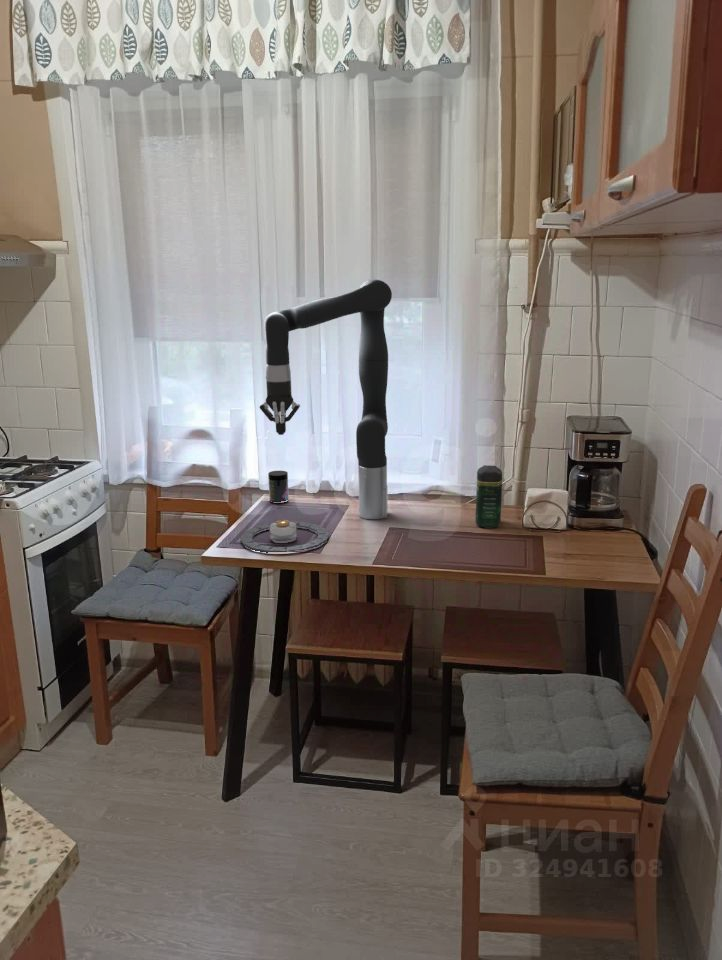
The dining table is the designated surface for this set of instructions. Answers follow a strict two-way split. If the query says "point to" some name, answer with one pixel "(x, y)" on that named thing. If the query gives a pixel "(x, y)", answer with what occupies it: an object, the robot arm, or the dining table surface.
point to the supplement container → (278, 486)
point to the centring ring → (252, 545)
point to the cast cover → (283, 530)
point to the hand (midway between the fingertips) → (281, 434)
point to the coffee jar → (488, 496)
